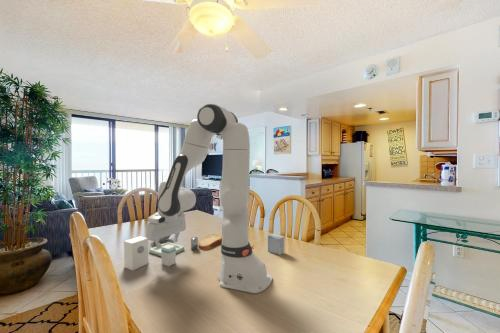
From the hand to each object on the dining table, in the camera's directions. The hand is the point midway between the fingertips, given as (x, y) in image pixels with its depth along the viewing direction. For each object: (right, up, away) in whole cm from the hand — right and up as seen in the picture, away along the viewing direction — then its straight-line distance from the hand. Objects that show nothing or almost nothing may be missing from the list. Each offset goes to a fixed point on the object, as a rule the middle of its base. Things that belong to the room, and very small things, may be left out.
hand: (167, 244), depth 110 cm
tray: (-5, -8, +14) cm, 17 cm away
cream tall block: (-13, -9, -2) cm, 16 cm away
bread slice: (+17, -9, +26) cm, 33 cm away
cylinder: (+9, -8, +17) cm, 21 cm away
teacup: (-13, -8, +32) cm, 35 cm away
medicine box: (+53, -9, +13) cm, 55 cm away
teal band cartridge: (+1, -9, 0) cm, 9 cm away
